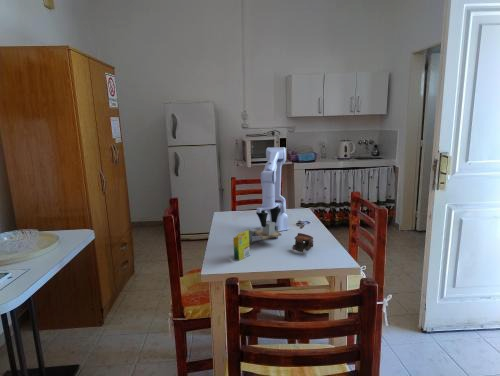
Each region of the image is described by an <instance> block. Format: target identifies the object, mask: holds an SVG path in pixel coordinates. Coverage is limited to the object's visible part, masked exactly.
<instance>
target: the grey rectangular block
mask: <svg viewBox="0 0 500 376" xmlns="http://www.w3.org/2000/svg"><path fill="white" fill-rule="evenodd" d="M263 234H266V235H269V236H270V235H272V234H275V222H272V221H270V220H266V227H263Z"/></svg>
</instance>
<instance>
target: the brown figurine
mask: <svg viewBox="0 0 500 376" xmlns="http://www.w3.org/2000/svg"><path fill="white" fill-rule="evenodd" d="M294 240H295V242H294V244H292V251H297V252H300V253H304V250H305V251H306V252H308V251H310V250H311V248H314V237H313V236H312V235H309V234H305V233H300V232H298V233H297V235H296V236H295V237H294Z"/></svg>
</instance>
